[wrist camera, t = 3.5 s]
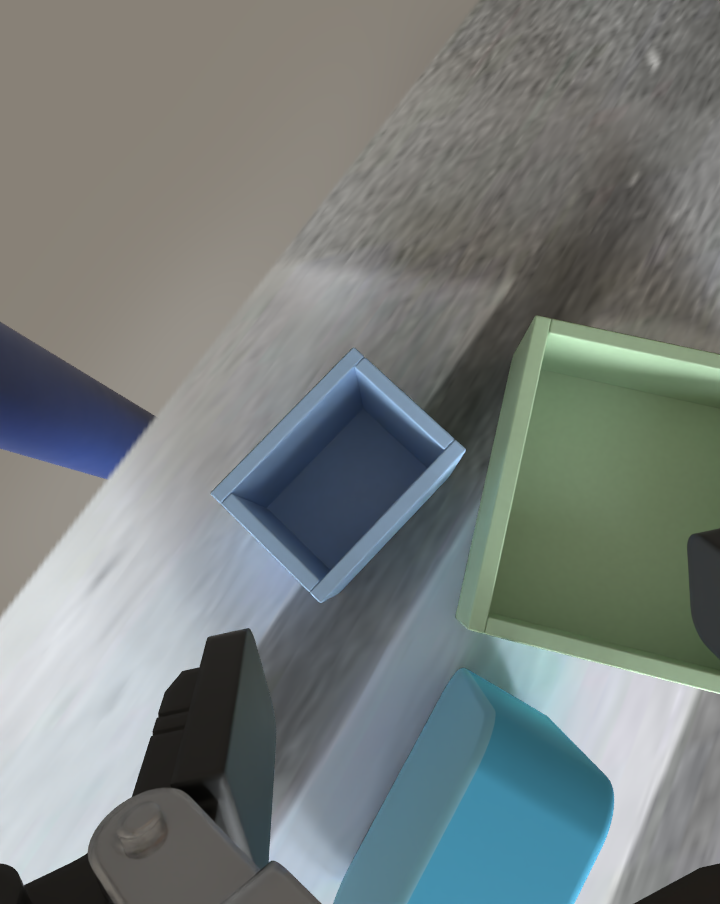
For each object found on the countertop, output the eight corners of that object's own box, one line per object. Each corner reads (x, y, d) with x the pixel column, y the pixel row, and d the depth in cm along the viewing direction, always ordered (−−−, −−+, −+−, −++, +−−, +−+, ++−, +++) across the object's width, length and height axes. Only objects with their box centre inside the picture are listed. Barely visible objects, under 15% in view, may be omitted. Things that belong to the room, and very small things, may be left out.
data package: (419, 953, 31) (433, 1198, 19) (332, 896, 31) (292, 1099, 19) (544, 711, 32) (630, 797, 20) (458, 660, 33) (493, 716, 21)
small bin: (252, 509, 34) (209, 493, 26) (363, 395, 35) (353, 346, 27) (338, 594, 33) (320, 604, 26) (450, 475, 34) (466, 449, 26)
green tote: (454, 618, 33) (467, 629, 27) (512, 354, 35) (535, 314, 29) (739, 690, 32) (814, 718, 26) (783, 414, 34) (862, 383, 28)
